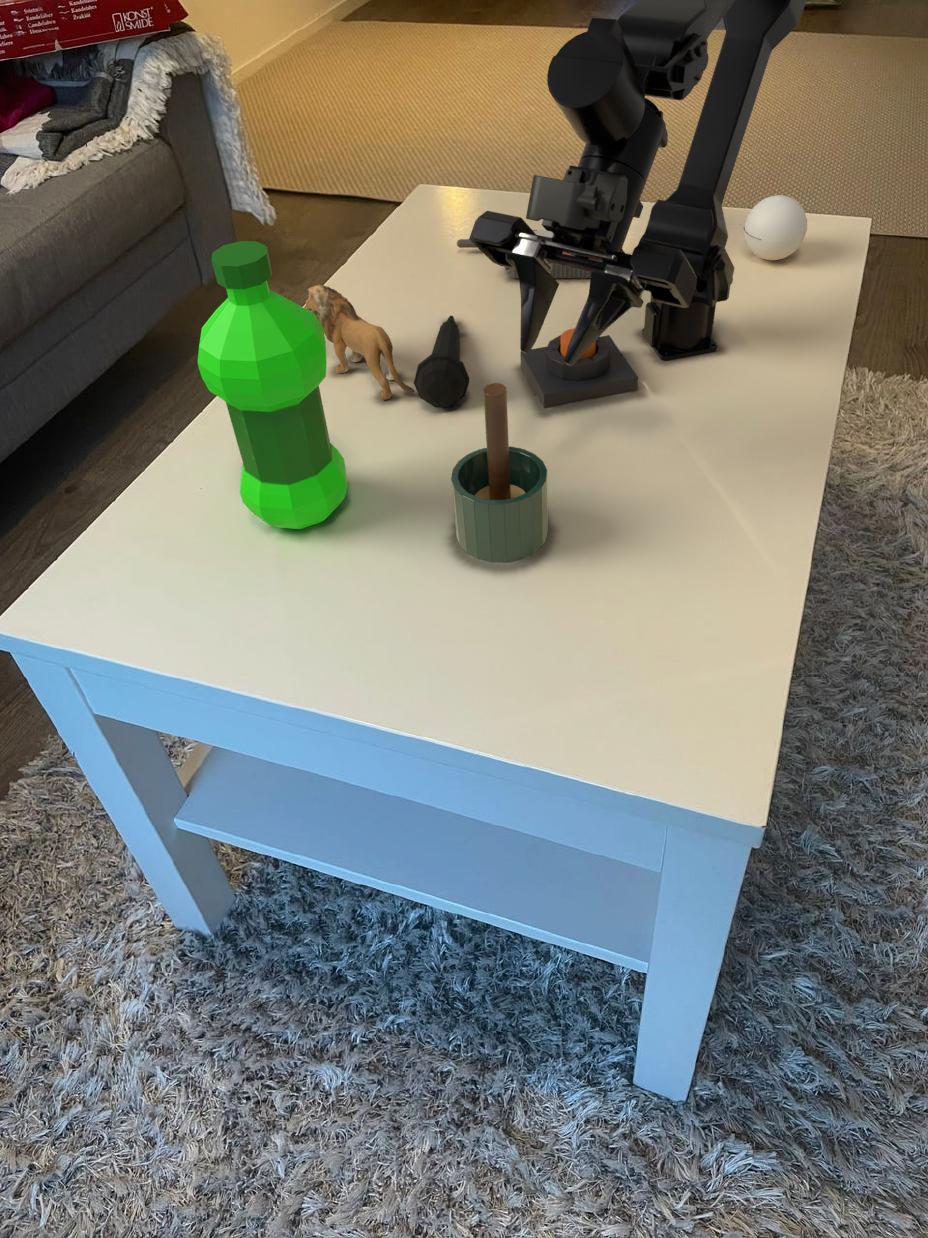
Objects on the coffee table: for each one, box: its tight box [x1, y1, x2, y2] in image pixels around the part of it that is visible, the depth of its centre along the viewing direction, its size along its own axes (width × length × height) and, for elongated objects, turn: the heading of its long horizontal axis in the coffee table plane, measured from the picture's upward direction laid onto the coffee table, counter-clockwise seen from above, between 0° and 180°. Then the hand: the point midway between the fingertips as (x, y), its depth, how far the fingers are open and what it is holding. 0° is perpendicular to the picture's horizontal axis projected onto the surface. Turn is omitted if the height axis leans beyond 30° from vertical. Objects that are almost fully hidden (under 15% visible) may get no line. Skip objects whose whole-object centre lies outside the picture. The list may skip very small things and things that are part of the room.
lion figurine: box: [303, 284, 416, 401], centre depth 103 cm, size 15×5×9 cm, turn 50°
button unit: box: [519, 334, 639, 409], centre depth 101 cm, size 10×9×4 cm
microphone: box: [413, 315, 470, 408], centre depth 105 cm, size 6×6×20 cm
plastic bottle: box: [197, 240, 348, 530], centre depth 81 cm, size 10×10×25 cm
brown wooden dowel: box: [475, 382, 525, 500], centre depth 80 cm, size 5×5×14 cm
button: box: [560, 327, 596, 359], centre depth 99 cm, size 4×4×2 cm
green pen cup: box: [450, 445, 549, 564], centre depth 83 cm, size 8×8×7 cm
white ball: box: [726, 194, 808, 261], centre depth 117 cm, size 10×7×7 cm
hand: (545, 358), depth 80 cm, fingers open, 4 cm apart
